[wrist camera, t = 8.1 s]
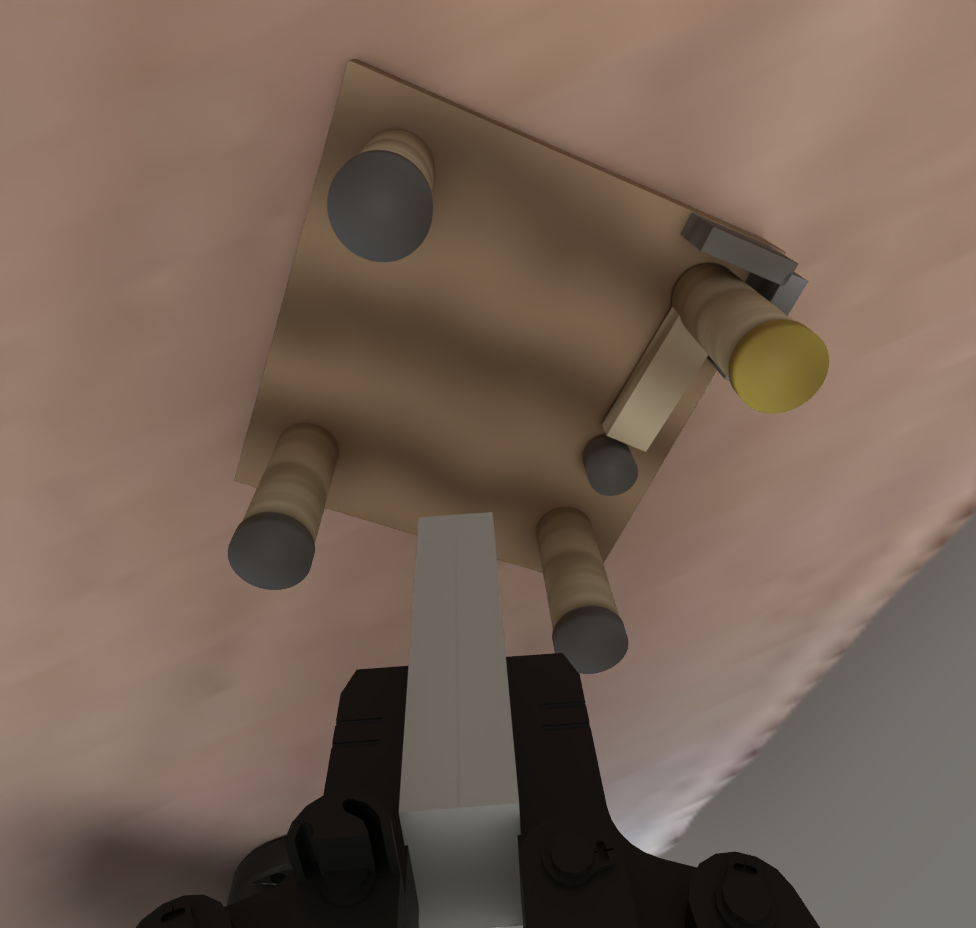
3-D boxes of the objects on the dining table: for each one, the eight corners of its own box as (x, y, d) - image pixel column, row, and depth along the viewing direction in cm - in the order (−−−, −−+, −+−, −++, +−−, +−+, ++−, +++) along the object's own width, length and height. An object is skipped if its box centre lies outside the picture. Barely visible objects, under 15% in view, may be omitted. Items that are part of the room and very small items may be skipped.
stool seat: (582, 559, 43) (621, 708, 34) (246, 456, 39) (177, 593, 29) (764, 239, 34) (889, 314, 25) (355, 59, 30) (309, 63, 20)
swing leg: (621, 486, 38) (665, 597, 30) (567, 464, 37) (597, 573, 29) (754, 278, 33) (848, 349, 25) (694, 248, 32) (772, 312, 24)
